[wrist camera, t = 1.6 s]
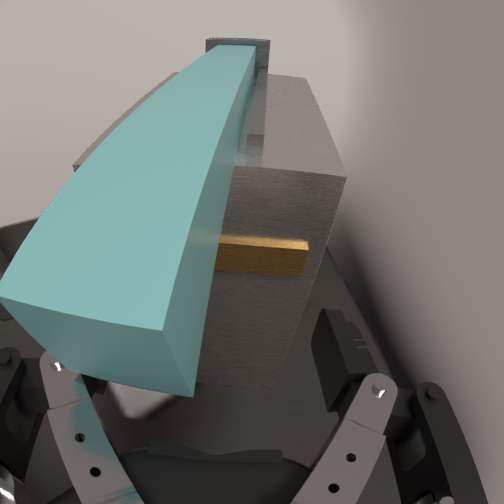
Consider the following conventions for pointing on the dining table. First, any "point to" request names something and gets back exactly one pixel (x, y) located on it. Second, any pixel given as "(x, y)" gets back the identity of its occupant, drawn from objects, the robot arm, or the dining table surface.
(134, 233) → the teal tapered block
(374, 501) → the dining table surface
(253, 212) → the tall grey box
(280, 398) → the dining table surface
